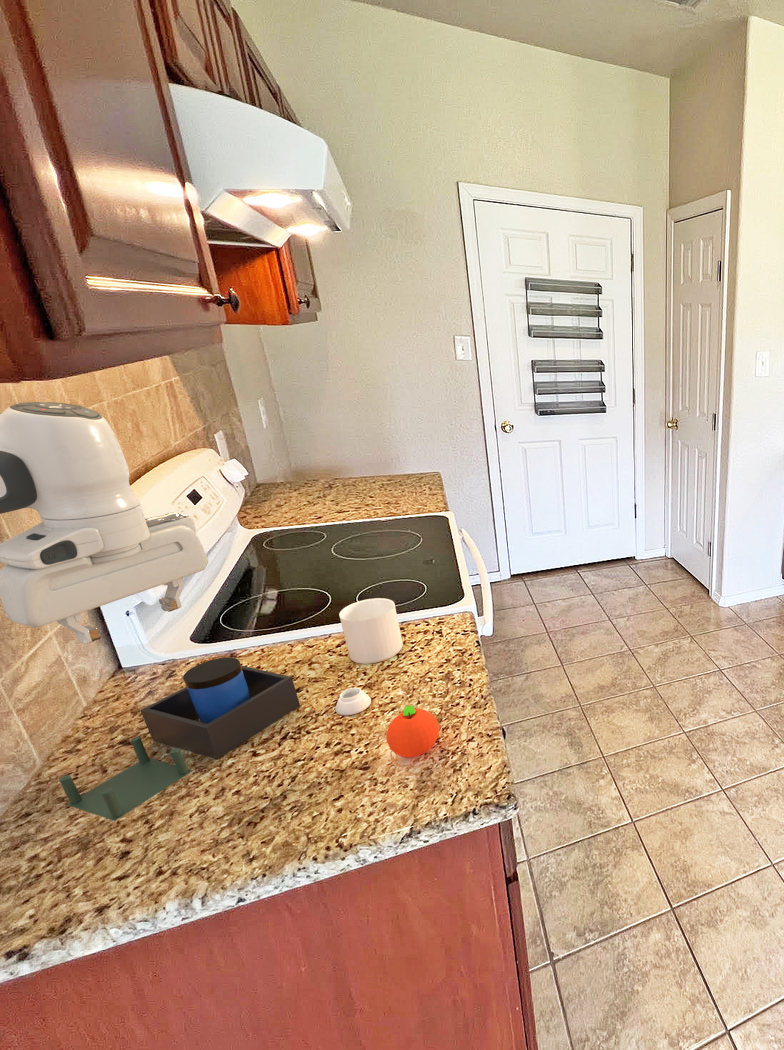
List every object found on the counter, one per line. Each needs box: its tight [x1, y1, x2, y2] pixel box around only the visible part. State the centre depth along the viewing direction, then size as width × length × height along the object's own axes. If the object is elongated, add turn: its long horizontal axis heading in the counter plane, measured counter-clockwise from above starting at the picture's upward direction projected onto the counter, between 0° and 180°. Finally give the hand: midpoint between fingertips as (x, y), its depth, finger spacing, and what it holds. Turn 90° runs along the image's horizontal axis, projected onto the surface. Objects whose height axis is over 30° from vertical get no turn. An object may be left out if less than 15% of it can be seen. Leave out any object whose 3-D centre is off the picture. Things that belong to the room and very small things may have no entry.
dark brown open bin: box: [139, 664, 301, 760], centre depth 89 cm, size 13×13×7 cm
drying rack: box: [58, 736, 194, 822], centre depth 77 cm, size 9×9×5 cm
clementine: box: [386, 704, 440, 758], centre depth 85 cm, size 8×7×7 cm
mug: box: [338, 597, 404, 665], centre depth 110 cm, size 12×9×9 cm
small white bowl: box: [334, 687, 372, 716], centre depth 95 cm, size 5×3×5 cm
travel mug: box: [182, 657, 252, 724], centre depth 88 cm, size 7×7×10 cm
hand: (133, 624), depth 79 cm, fingers open, 8 cm apart
